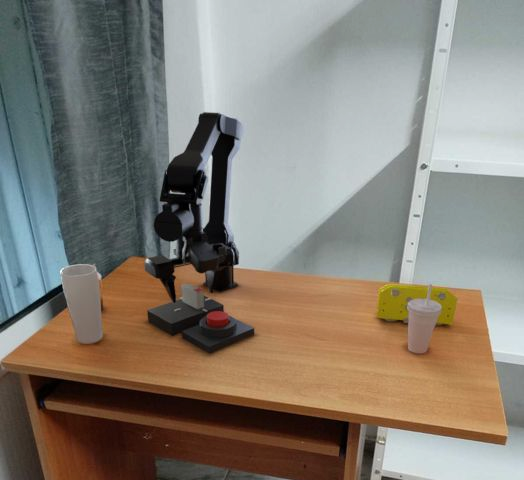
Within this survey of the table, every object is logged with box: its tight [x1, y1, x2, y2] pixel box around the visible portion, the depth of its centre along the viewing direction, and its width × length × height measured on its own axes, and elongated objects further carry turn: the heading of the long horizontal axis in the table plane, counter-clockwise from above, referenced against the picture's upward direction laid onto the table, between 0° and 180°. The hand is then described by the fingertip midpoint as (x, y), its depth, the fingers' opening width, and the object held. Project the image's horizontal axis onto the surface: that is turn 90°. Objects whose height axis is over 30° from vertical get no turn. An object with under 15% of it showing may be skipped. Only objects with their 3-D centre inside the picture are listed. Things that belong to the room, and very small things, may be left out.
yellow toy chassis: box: [376, 283, 458, 326], centre depth 117 cm, size 16×6×8 cm, turn 79°
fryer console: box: [146, 294, 225, 337], centre depth 117 cm, size 14×10×3 cm
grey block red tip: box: [180, 282, 204, 309], centre depth 117 cm, size 6×2×4 cm, turn 44°
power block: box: [181, 315, 255, 355], centre depth 110 cm, size 12×9×4 cm
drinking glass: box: [60, 263, 104, 345], centre depth 106 cm, size 7×7×15 cm
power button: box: [207, 311, 230, 327], centre depth 109 cm, size 4×4×2 cm
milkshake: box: [93, 263, 104, 313], centre depth 120 cm, size 4×5×10 cm
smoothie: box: [407, 283, 442, 354], centre depth 104 cm, size 6×6×14 cm
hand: (192, 297), depth 117 cm, fingers open, 9 cm apart
